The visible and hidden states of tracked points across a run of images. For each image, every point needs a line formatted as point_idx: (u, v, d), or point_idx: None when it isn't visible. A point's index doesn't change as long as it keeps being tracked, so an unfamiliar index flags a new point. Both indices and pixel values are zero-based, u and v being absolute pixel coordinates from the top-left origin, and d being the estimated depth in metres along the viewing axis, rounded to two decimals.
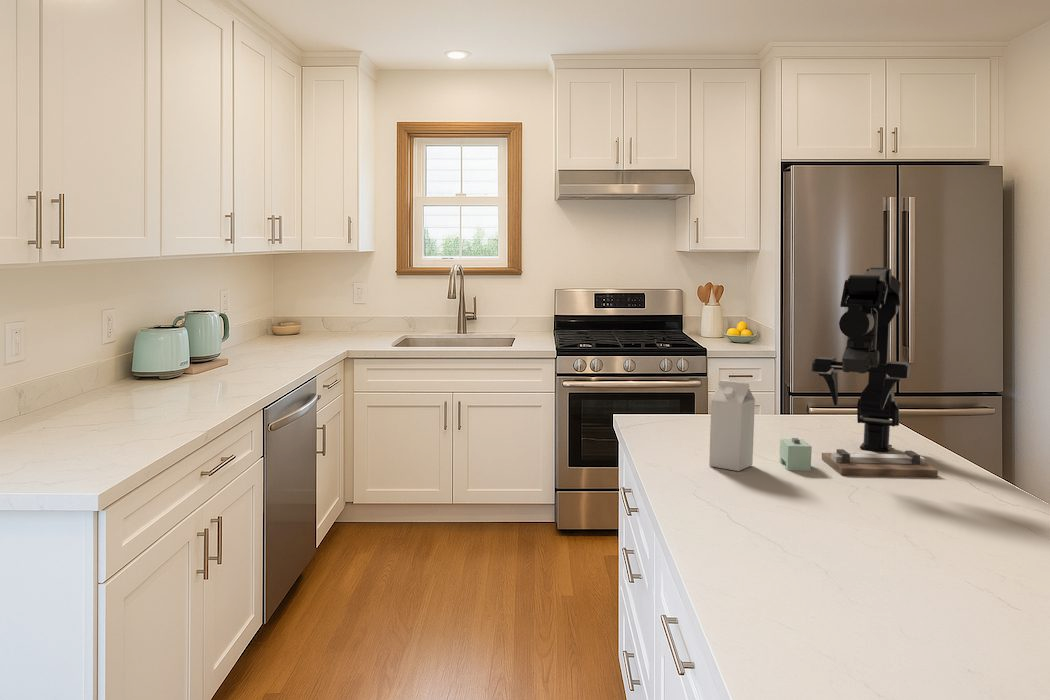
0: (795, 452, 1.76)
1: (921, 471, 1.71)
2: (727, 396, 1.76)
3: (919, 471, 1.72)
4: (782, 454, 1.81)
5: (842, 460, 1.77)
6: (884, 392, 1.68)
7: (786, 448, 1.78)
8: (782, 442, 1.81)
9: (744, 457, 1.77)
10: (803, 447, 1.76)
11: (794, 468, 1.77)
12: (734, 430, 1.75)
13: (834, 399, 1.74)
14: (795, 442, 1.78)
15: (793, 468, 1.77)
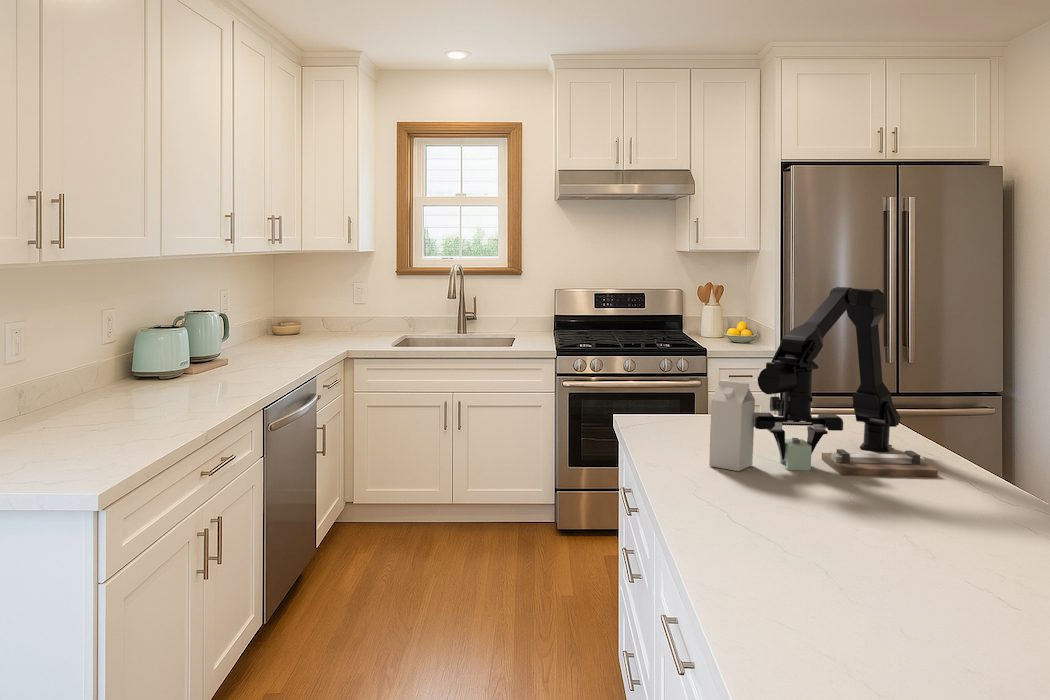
0: (795, 452, 1.76)
1: (921, 471, 1.71)
2: (727, 396, 1.76)
3: (919, 471, 1.72)
4: None
5: (842, 460, 1.77)
6: None
7: (786, 448, 1.78)
8: None
9: (744, 457, 1.77)
10: (803, 447, 1.76)
11: (794, 468, 1.77)
12: (734, 430, 1.75)
13: None
14: (795, 442, 1.78)
15: (793, 468, 1.77)
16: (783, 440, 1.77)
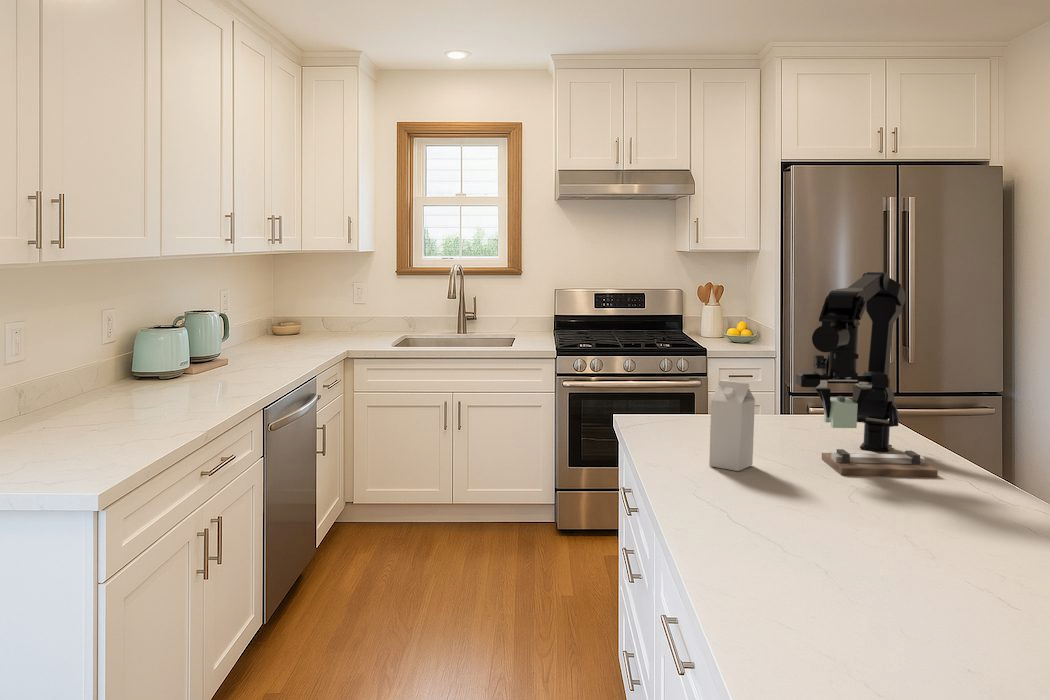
0: (840, 410, 1.75)
1: (921, 471, 1.71)
2: (727, 396, 1.76)
3: (919, 471, 1.72)
4: None
5: (842, 460, 1.77)
6: None
7: (831, 406, 1.76)
8: None
9: (744, 457, 1.77)
10: (849, 404, 1.74)
11: (840, 426, 1.75)
12: (734, 430, 1.75)
13: None
14: (840, 400, 1.77)
15: (839, 426, 1.75)
16: (828, 398, 1.76)
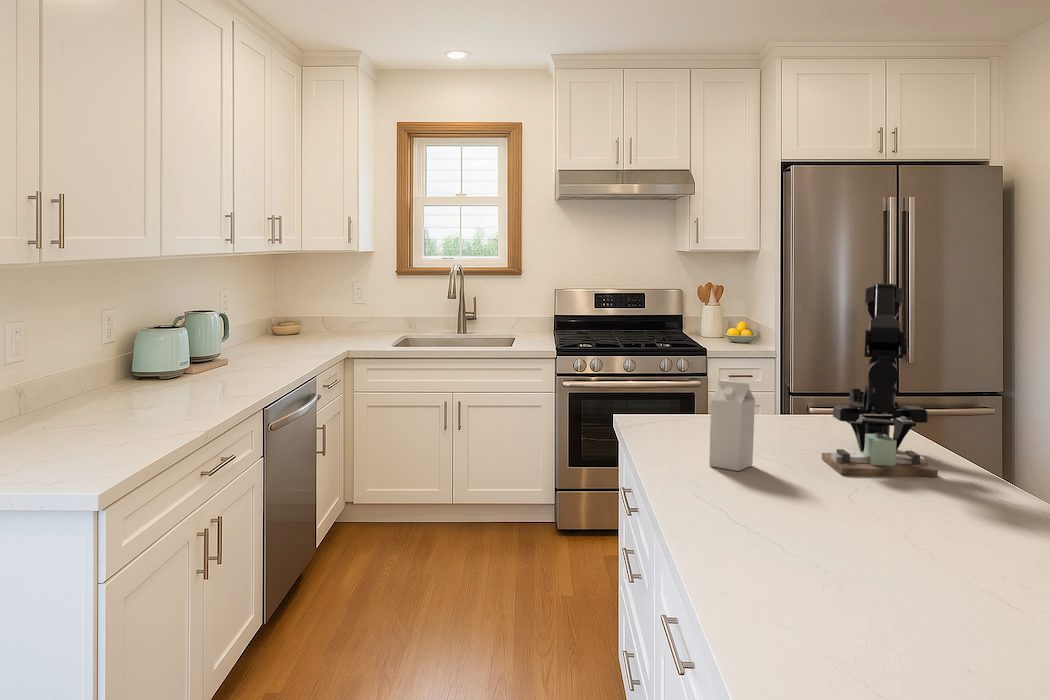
0: (879, 447, 1.75)
1: (921, 471, 1.71)
2: (727, 396, 1.76)
3: (919, 471, 1.72)
4: (864, 449, 1.80)
5: (842, 460, 1.77)
6: None
7: (870, 443, 1.76)
8: None
9: (744, 457, 1.77)
10: (888, 442, 1.75)
11: (878, 463, 1.75)
12: (734, 430, 1.75)
13: None
14: (879, 437, 1.77)
15: (877, 463, 1.75)
16: (863, 433, 1.76)
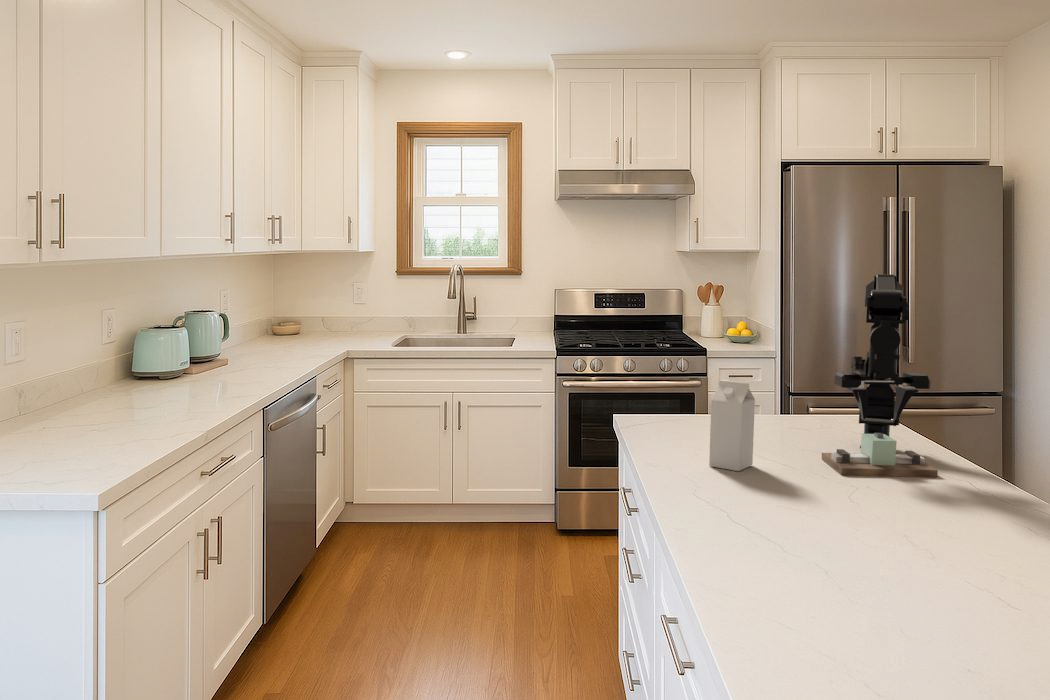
0: (879, 447, 1.75)
1: (921, 471, 1.71)
2: (727, 396, 1.76)
3: (919, 471, 1.72)
4: (864, 449, 1.80)
5: (842, 460, 1.77)
6: None
7: (870, 443, 1.76)
8: (864, 437, 1.80)
9: (744, 457, 1.77)
10: (888, 442, 1.75)
11: (878, 463, 1.75)
12: (734, 430, 1.75)
13: None
14: (879, 437, 1.77)
15: (877, 463, 1.75)
16: (865, 399, 1.75)
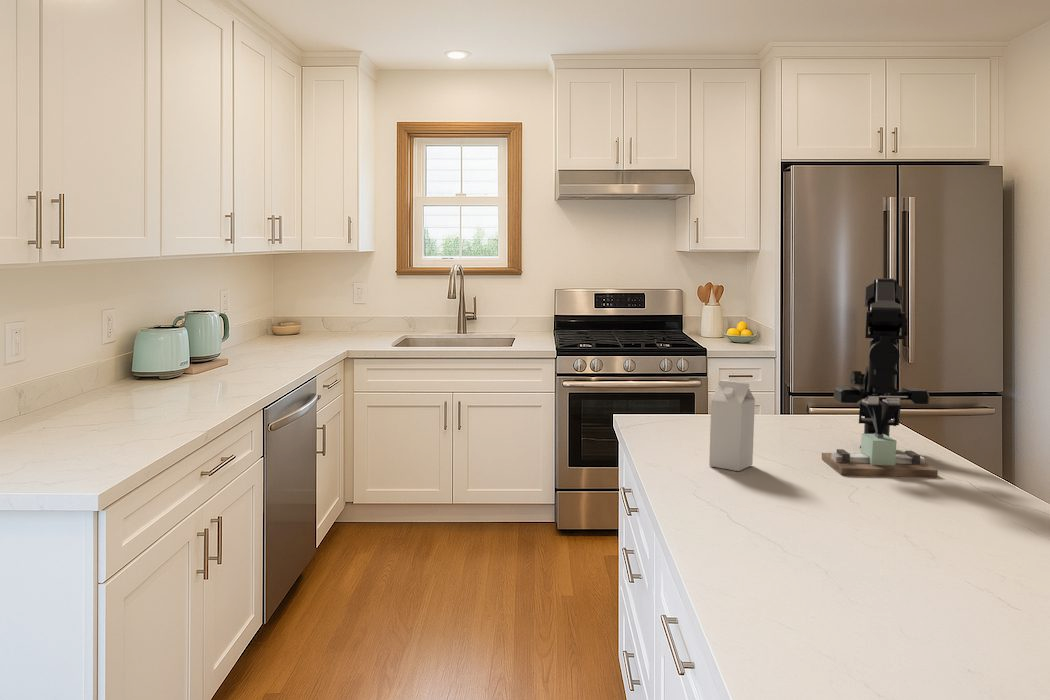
0: (879, 447, 1.75)
1: (921, 471, 1.71)
2: (727, 396, 1.76)
3: (919, 471, 1.72)
4: (864, 449, 1.80)
5: (842, 460, 1.77)
6: None
7: (870, 443, 1.76)
8: (864, 437, 1.80)
9: (744, 457, 1.77)
10: (888, 442, 1.75)
11: (878, 463, 1.75)
12: (734, 430, 1.75)
13: None
14: (879, 437, 1.77)
15: (877, 463, 1.75)
16: (880, 415, 1.75)
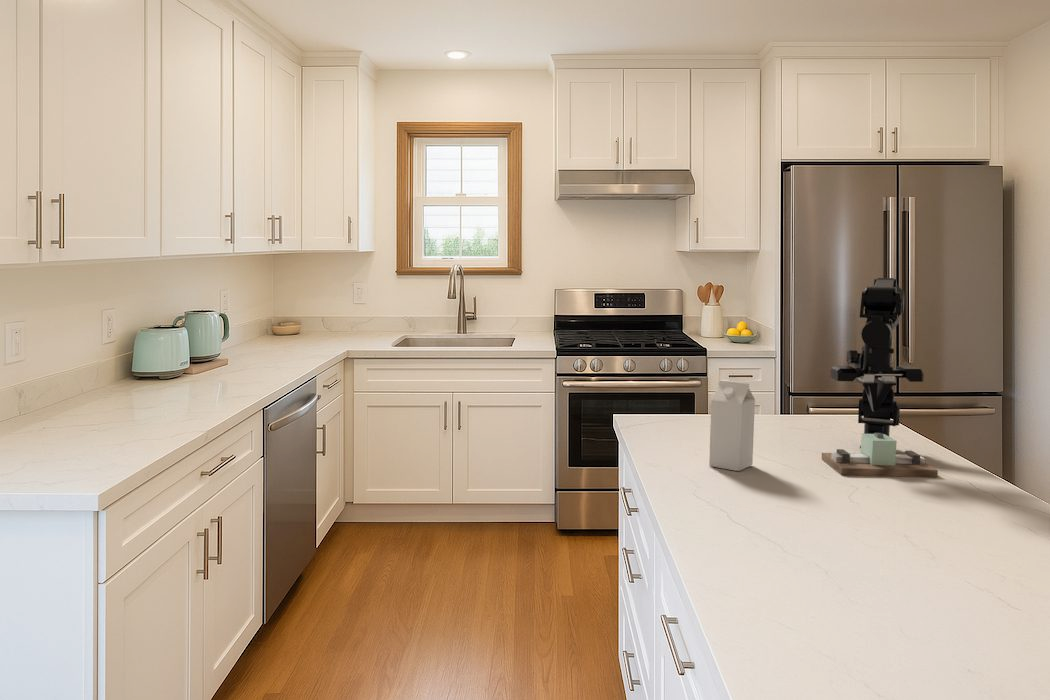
0: (879, 447, 1.75)
1: (921, 471, 1.71)
2: (727, 396, 1.76)
3: (919, 471, 1.72)
4: (864, 449, 1.80)
5: (842, 460, 1.77)
6: None
7: (870, 443, 1.76)
8: (864, 437, 1.80)
9: (744, 457, 1.77)
10: (888, 442, 1.75)
11: (878, 463, 1.75)
12: (734, 430, 1.75)
13: None
14: (879, 437, 1.77)
15: (877, 463, 1.75)
16: (875, 392, 1.80)
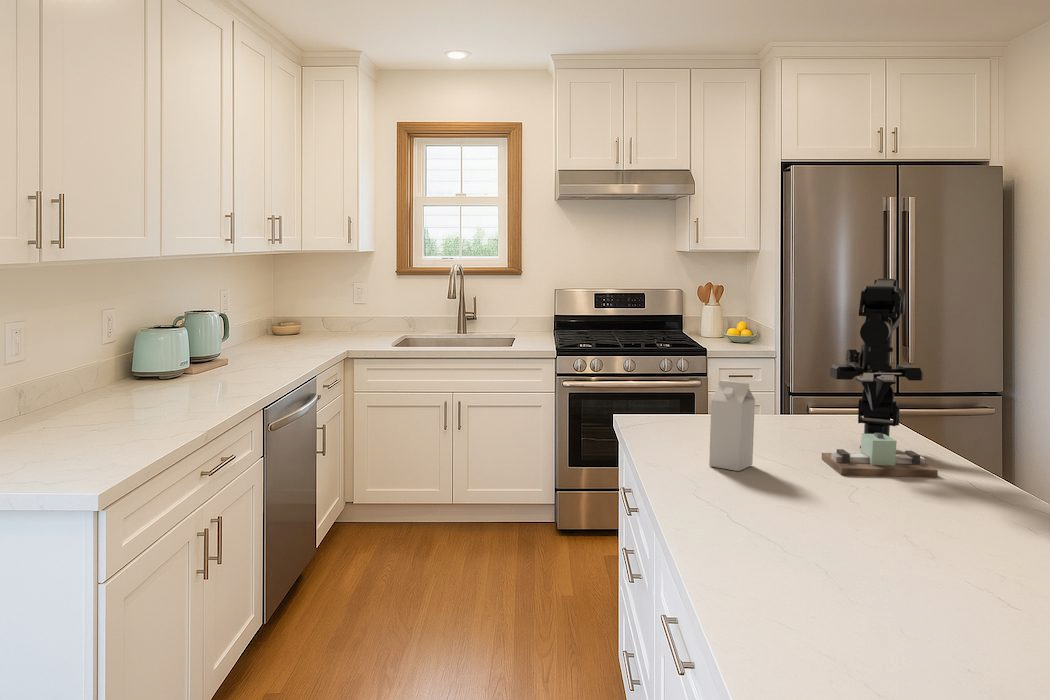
0: (879, 447, 1.75)
1: (921, 471, 1.71)
2: (727, 396, 1.76)
3: (919, 471, 1.72)
4: (864, 449, 1.80)
5: (842, 460, 1.77)
6: None
7: (870, 443, 1.76)
8: (864, 437, 1.80)
9: (744, 457, 1.77)
10: (888, 442, 1.75)
11: (878, 463, 1.75)
12: (734, 430, 1.75)
13: None
14: (879, 437, 1.77)
15: (877, 463, 1.75)
16: (874, 391, 1.80)
